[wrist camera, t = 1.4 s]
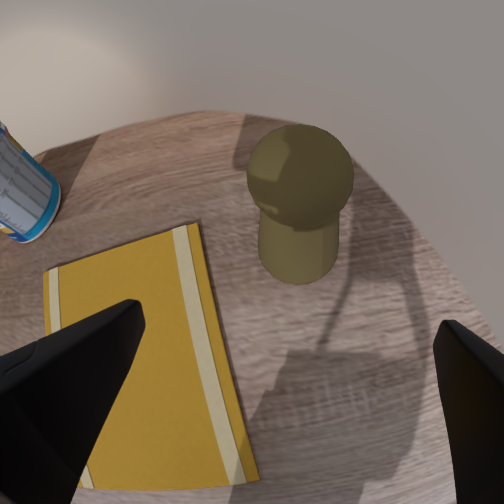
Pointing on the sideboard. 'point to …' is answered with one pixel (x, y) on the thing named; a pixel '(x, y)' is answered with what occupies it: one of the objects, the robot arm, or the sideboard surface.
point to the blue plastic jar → (24, 192)
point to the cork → (299, 200)
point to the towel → (160, 368)
